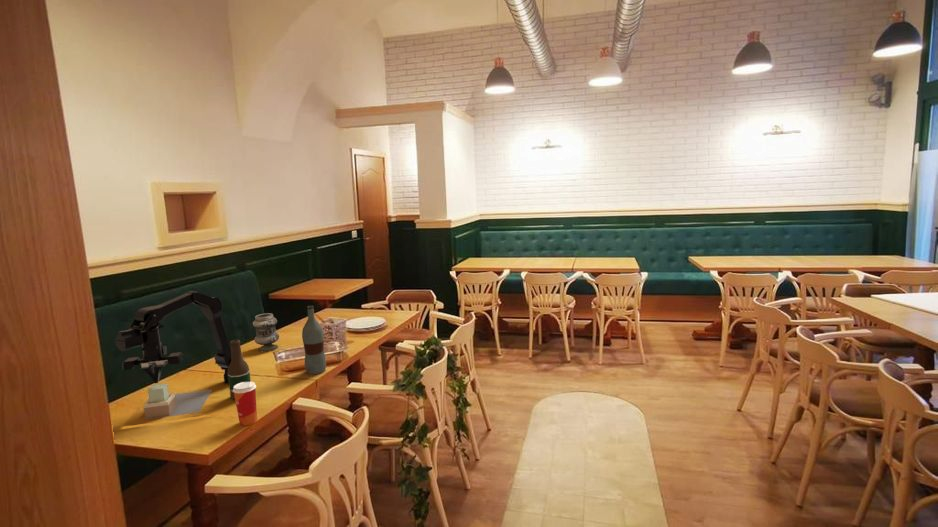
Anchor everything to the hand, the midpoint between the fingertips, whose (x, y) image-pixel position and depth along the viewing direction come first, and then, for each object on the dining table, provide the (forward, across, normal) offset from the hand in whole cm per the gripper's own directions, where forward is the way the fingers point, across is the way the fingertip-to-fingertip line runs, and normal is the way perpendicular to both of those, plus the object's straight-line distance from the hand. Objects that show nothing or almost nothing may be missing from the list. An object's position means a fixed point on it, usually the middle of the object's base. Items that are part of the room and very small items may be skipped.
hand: (157, 382), depth 185 cm
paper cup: (+13, -33, +18) cm, 40 cm away
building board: (+12, -5, -6) cm, 15 cm away
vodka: (+13, -55, -26) cm, 62 cm away
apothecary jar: (+13, -29, -69) cm, 76 cm away
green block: (+8, 0, 0) cm, 8 cm away
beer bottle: (+13, -27, -5) cm, 30 cm away
